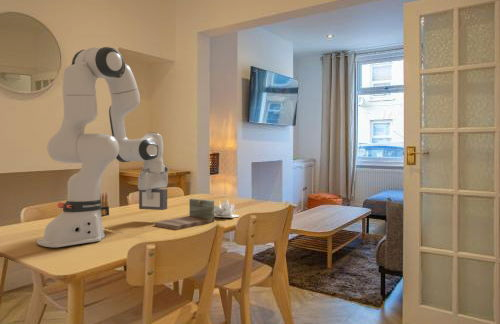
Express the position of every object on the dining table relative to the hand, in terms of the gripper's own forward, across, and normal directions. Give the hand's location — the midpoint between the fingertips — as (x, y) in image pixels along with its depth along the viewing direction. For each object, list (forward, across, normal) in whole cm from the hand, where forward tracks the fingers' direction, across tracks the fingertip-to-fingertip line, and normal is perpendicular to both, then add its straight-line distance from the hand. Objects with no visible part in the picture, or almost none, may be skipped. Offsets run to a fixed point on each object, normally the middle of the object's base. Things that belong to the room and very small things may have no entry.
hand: (153, 198), depth 166 cm
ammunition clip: (+10, 0, +29) cm, 31 cm away
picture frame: (+4, 0, 0) cm, 4 cm away
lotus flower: (+10, +18, -28) cm, 35 cm away
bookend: (+10, -2, -17) cm, 20 cm away
